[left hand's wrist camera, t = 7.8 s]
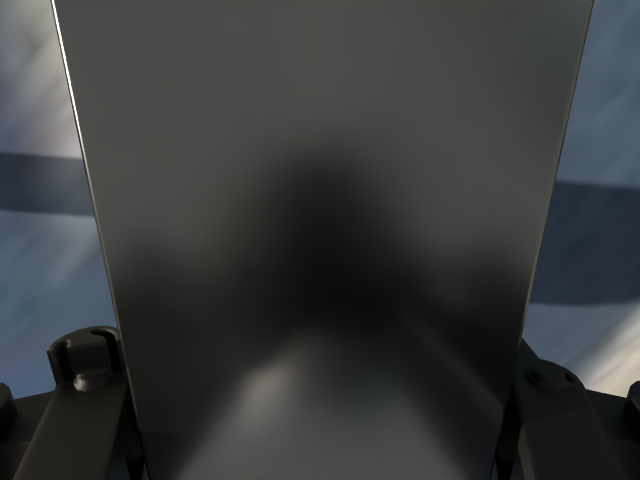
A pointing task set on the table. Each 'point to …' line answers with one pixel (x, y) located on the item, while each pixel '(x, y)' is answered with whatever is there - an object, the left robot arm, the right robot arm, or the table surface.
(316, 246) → the bar
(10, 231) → the table surface
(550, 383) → the left robot arm
